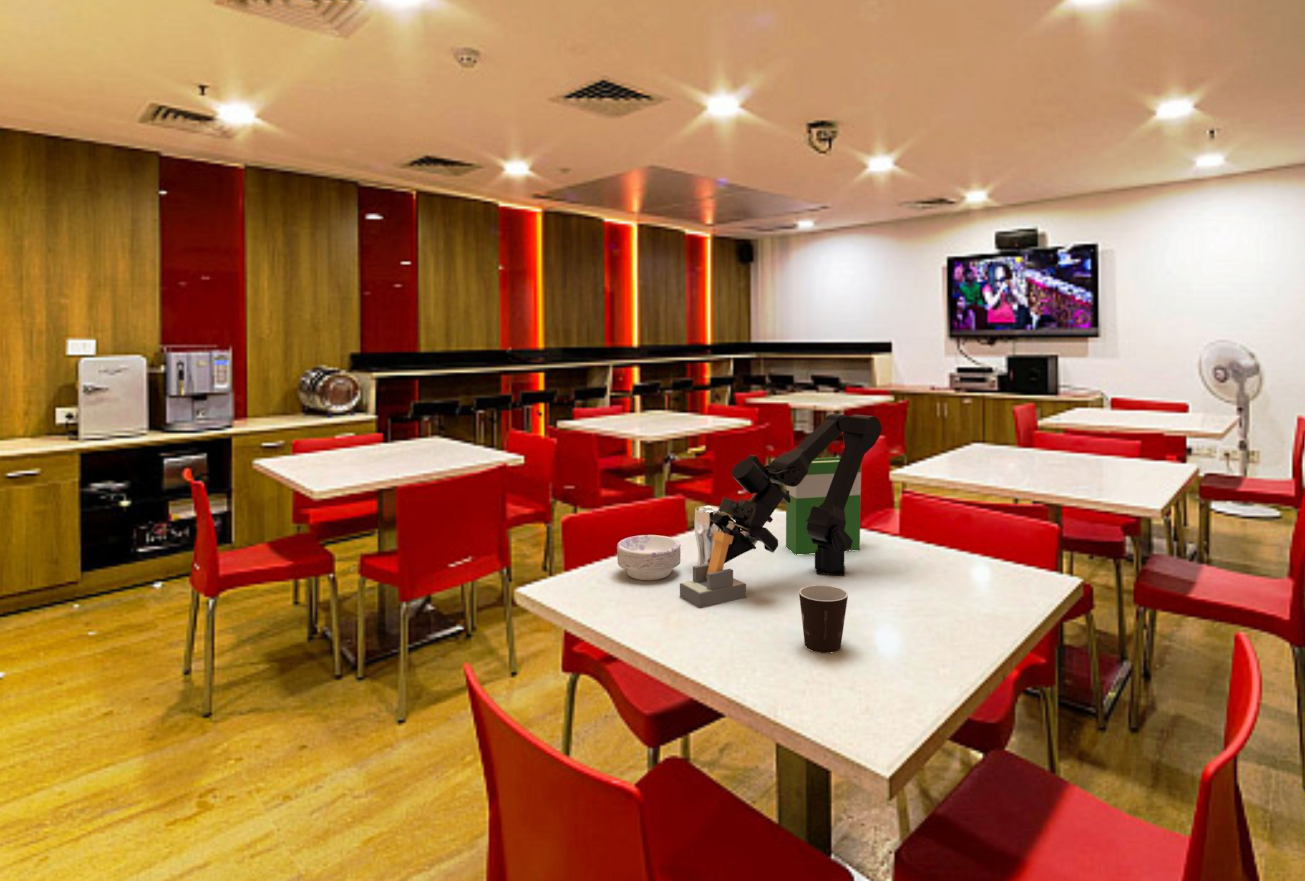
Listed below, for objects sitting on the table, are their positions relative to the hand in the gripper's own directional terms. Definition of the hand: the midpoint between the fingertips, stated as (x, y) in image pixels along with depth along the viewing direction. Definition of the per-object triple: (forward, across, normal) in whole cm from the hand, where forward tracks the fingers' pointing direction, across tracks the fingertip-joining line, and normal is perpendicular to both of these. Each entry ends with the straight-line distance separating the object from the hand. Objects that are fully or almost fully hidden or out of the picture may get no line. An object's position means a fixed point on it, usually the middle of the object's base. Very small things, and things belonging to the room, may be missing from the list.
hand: (721, 562), depth 159 cm
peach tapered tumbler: (0, -18, +11) cm, 21 cm away
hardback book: (-24, -16, +36) cm, 46 cm away
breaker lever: (+4, 0, +1) cm, 4 cm away
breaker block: (+7, 0, +4) cm, 8 cm away
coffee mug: (+6, +32, +5) cm, 33 cm away
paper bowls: (+10, -21, +1) cm, 23 cm away
